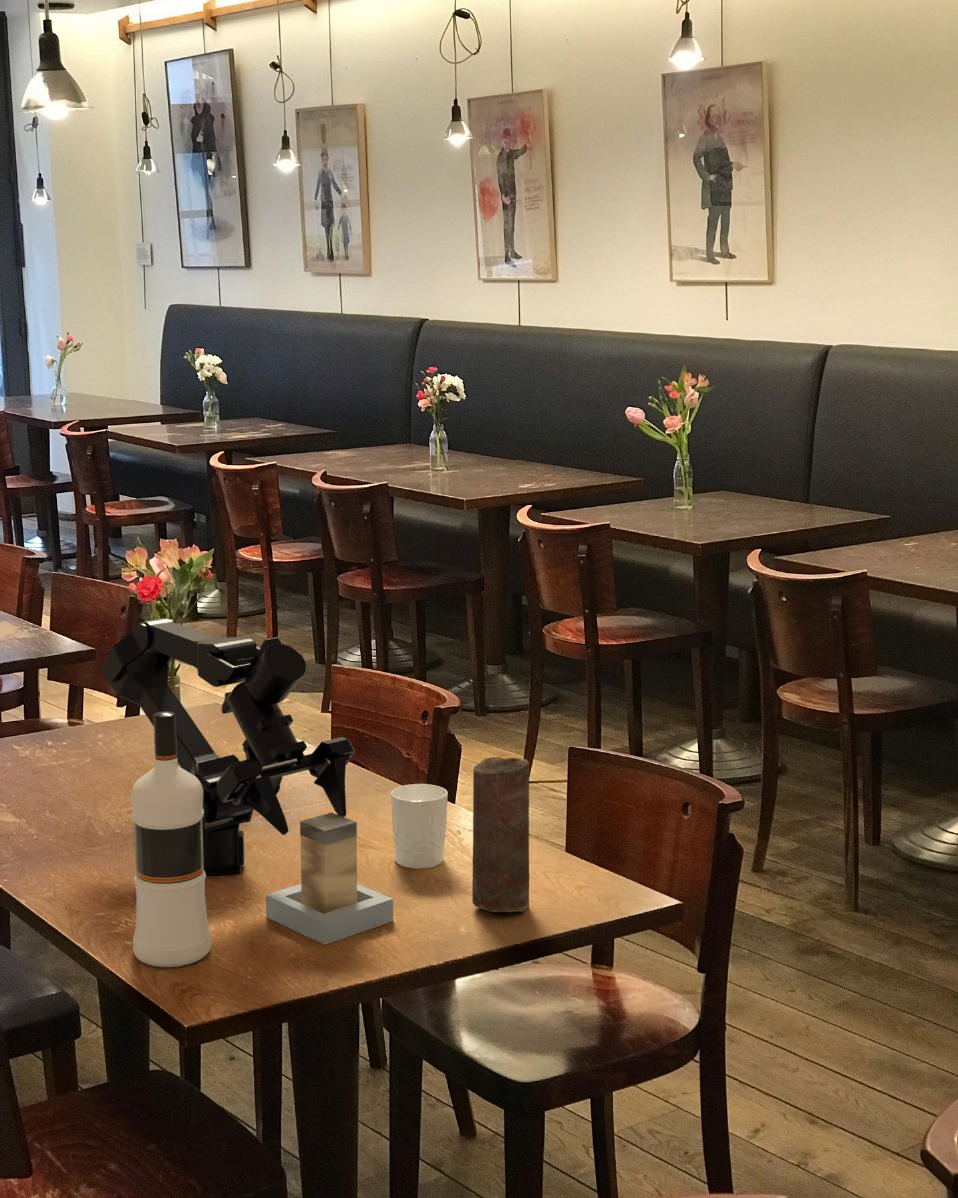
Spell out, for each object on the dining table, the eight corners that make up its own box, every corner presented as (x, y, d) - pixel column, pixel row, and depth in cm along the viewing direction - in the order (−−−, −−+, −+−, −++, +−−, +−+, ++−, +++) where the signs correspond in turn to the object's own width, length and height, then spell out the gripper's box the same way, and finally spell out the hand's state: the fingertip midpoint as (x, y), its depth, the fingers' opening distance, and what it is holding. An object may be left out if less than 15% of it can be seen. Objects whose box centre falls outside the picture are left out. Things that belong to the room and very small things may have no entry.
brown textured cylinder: (509, 925, 202) (510, 772, 198) (460, 913, 205) (460, 763, 202) (539, 906, 208) (541, 758, 204) (491, 894, 212) (492, 749, 208)
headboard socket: (266, 917, 204) (265, 894, 203) (334, 895, 211) (333, 873, 211) (324, 945, 195) (324, 921, 195) (393, 921, 203) (393, 898, 202)
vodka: (117, 956, 191) (107, 714, 186) (176, 933, 199) (168, 698, 193) (168, 977, 186) (160, 727, 180) (227, 952, 193) (221, 711, 187)
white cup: (440, 872, 220) (440, 803, 218) (384, 868, 221) (384, 799, 219) (452, 853, 227) (453, 785, 225) (399, 849, 229) (398, 782, 227)
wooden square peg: (301, 919, 203) (299, 821, 201) (332, 908, 207) (331, 812, 204) (326, 930, 200) (324, 831, 197) (357, 919, 203) (356, 822, 201)
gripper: (294, 742, 220) (344, 839, 214) (178, 769, 207) (229, 873, 202) (329, 698, 213) (382, 797, 207) (211, 723, 200) (265, 830, 194)
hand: (315, 825), depth 203 cm, fingers open, 9 cm apart
